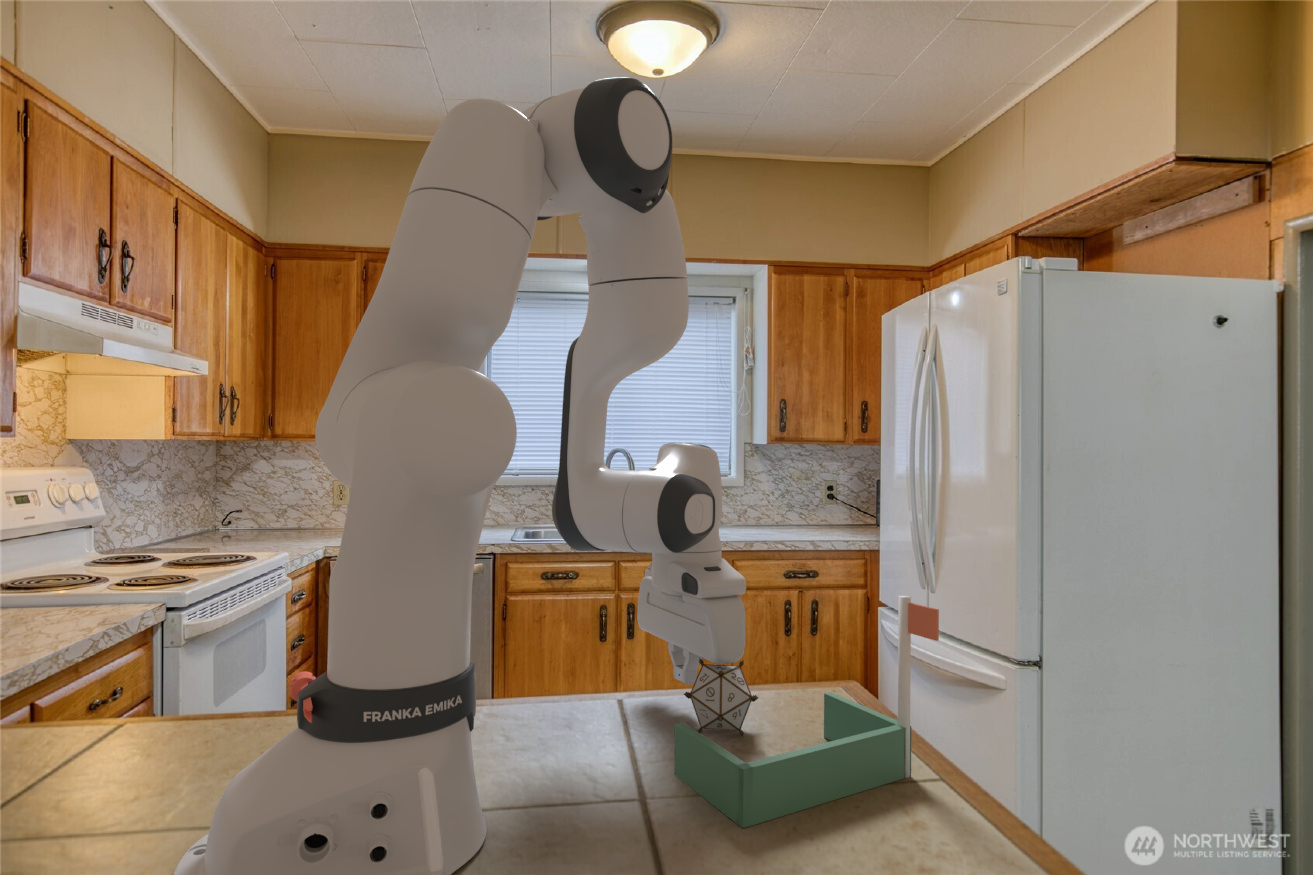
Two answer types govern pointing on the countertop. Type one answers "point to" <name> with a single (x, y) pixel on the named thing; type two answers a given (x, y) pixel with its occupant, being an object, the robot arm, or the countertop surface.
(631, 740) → the countertop surface
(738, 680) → the game die
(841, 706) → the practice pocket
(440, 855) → the robot arm
